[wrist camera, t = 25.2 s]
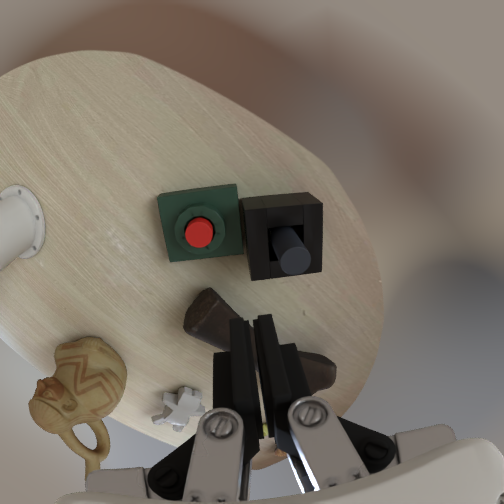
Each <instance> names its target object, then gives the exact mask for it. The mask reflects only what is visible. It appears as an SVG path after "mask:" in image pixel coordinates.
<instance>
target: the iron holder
mask: <svg viewBox="0 0 504 504" xmlns="http://www.w3.org/2000/svg"><path fill="white" fill-rule="evenodd" d="M242 209H243V219H244V229H245V239H246V249H247V259H248V265H249V270H250V276H251V281H255V280H264V279H270V278H271V279H272V278H280V277H287V276H295V275H290V274H287V273H285V272H284V271H283V270H282V268H281V266H280V263H279V261H278V258H277V256H276V253H275V251H274V248H273V246H272V243H271V242H268V229H267V228H274V227H284V226H293V229H294V231H295V232H296V234H297V235H298V237H299V238H300V240H301V241H302V243H303V244H304V246H305V247H306V249H307V250H308V252H309V253H310V256H311V262H310V265H309V267H308V269H307V270H306V271H304V272H303V273H301V274H298V275H303V274H310V273H318V272H322V242H323V203H322V202H320V201H319V200H318V199H317V198H315V197H314V196H313V195H311V194H310V193H309V192H303V193H290V194H278V195H267V196H257V197H247V198H242Z"/></svg>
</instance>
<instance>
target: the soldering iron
mask: <svg viewBox="0 0 504 504" xmlns="http://www.w3.org/2000/svg"><path fill="white" fill-rule="evenodd" d="M269 231H270V233H271V234H270V241H271V243H272V246H273V248H274V251H275V253H276V256H277V258H278V261H279V263H280V266H281V268H282V270H283V271H284V272H285V273H287V274H290V275H298V274H301V273H303V272H304V271H306V270H307V269H308V267H309V265H310V262H311V256H310V253H309V252H308V250H307V249H306V247H305V246H304V244H303V243H302V241H301V240H300V238H299V237H298V235H297V234H296V232H295V231H294V229H293V228H292V227H291V226H284V227H274V228H269Z"/></svg>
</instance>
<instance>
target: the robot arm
mask: <svg viewBox="0 0 504 504" xmlns="http://www.w3.org/2000/svg"><path fill="white" fill-rule="evenodd" d="M44 238H45V220H44V215H43V212H42V209H41V206H40V204H39V202H38V200H37V199H36V197H35V196H34V194H33V193H32V192H31V191H30V190H29V189H27V188H26V187H24V186H21V185H12V186H9V187H7V188H5V189H4V190H3V191H2V192H1V194H0V272H1V271H2V270H3V269H4V268H5V267H6V266H8V265H9V264H10V263H11V262H12V261H14V260H15V259H16V258H17V257H19V258H23V259H25V258H30V257H32V256H34V255H35V254H36V253H37V252H38V251H39V250H40V249H41V247H42V245H43V242H44ZM253 326H254V335H255V345H256V354H257V363H258V371H259V378H260V384H261V391H262V397H263V404H264V410H265V417H266V423H267V429H268V436H269V438H272V437H274V438H275V444H277V448H278V449H280V450H282V451H283V452H285V453H287V456H288V459H289V461H290V464H291V466H292V469H293V471H294V473H295V476H296V479H297V481H298V483H299V486H300V488H301V490H302V494H296V495H291V496H284V497H277V498H270V499H262V500H252V501H249V495H250V481H251V468H252V458H253V457H254V456H255V455H256V454H257V453H258V452H259V451H260V448H259V439H264V432H263V424H262V416H261V408H260V400H259V393H258V386H257V379H256V372H255V364H254V357H253V350H252V343H251V335H250V328H249V320H247V321H243V317H242V318H233V319H229V328H230V351H228V352H217V353H214V356H213V409H212V410H209V411H208V412H206V413H205V414H204V415H203V416H202V417H201V418H200V421H199V423H198V427H197V432H196V434H195V435H193V436H192V437H191V438H190V439H188V440H187V441H186V442H185V443H183V444H182V445H181V446H179V447H178V448H177V449H176V450H174V451H173V452H172V453H170V454H169V455H168V456H166V457H165V458H164V459H162V460H161V461H160V462H158V463H157V464H156V465H154V466H153V467H152V468H146V469H144V468H143V467H136V468H124V469H99V470H94V471H92V472H90V473H89V474H88V476H87V477H86V482H85V487H86V492H76V493H71V494H67V495H64V496H62V497H60V498H59V499H58V500H57V501H56V502H55V504H504V457H503V456H502V454H501V453H500V451H499V450H498V449H497V447H496V446H495V445H494V444H492V443H491V442H490V441H488V440H486V439H482V438H470V439H462V440H458V441H456V438H455V433H454V432H453V429H451V427H449V426H448V425H445V424H438V425H434V426H430V427H425V428H421V429H416V430H411V431H405V432H400V433H396V434H395V435H392V436H386V435H384V434H381V433H379V432H376V431H373V430H370V429H368V428H365V427H363V426H360V425H357V424H355V423H353V422H350V421H348V420H345V419H343V418H341V417H338V416H336V414H335V413H334V411H333V409H332V407H331V406H330V405H329V403H328V402H327V401H325V400H324V399H322V398H319V397H316V396H312V395H311V392H310V389H309V386H308V382H307V379H306V376H305V373H304V370H303V366H302V363H301V360H300V357H299V354H298V350H297V347H296V345H295V343H291V344H284V345H279V342H278V338H277V334H276V330H275V326H274V322H273V318H272V314H266V315H258V319H255V320H253Z"/></svg>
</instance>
